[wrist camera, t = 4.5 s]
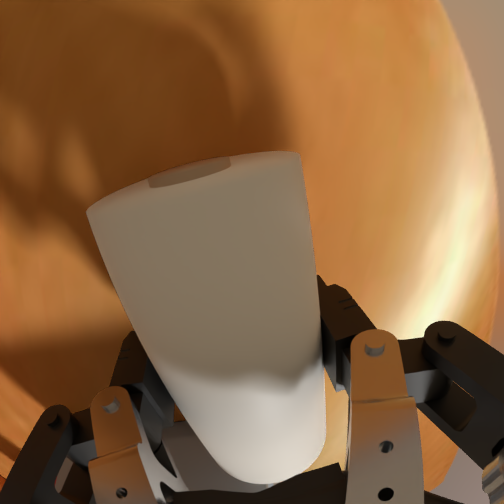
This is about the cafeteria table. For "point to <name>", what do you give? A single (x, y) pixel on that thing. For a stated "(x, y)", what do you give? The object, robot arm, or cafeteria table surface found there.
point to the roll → (226, 304)
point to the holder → (189, 464)
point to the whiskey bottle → (1, 482)
